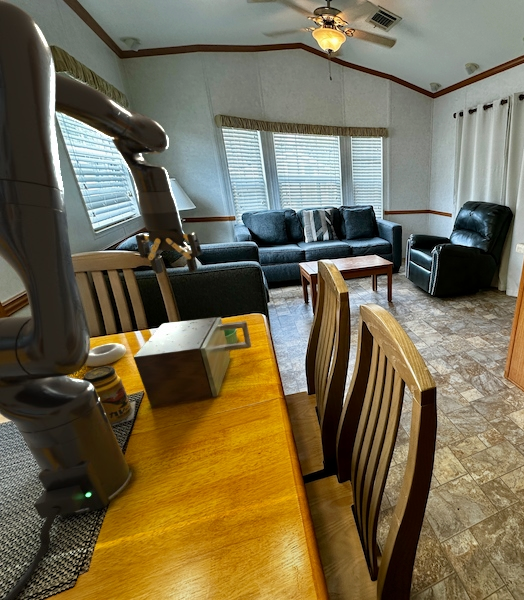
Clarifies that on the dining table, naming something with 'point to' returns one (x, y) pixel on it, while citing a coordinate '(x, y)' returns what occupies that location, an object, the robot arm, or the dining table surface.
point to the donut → (105, 354)
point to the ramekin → (231, 336)
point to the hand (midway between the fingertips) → (176, 272)
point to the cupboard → (175, 363)
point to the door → (220, 351)
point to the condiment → (111, 394)
